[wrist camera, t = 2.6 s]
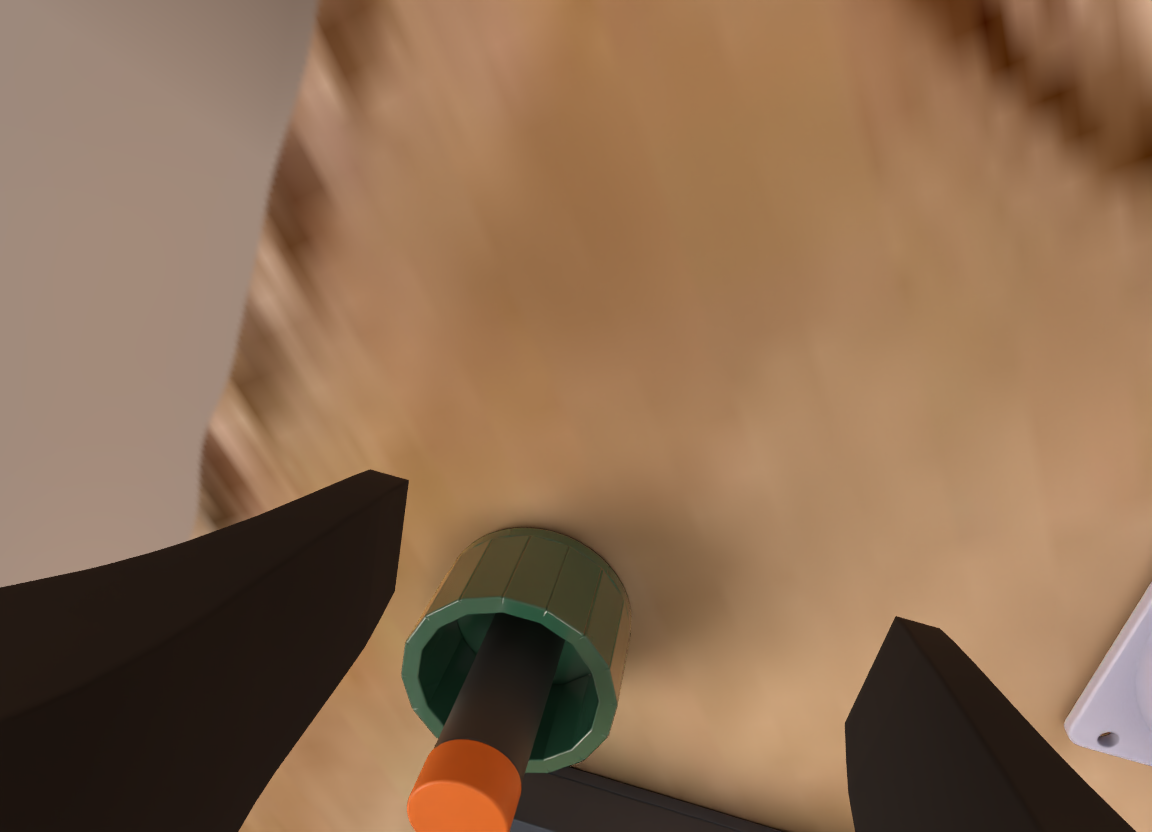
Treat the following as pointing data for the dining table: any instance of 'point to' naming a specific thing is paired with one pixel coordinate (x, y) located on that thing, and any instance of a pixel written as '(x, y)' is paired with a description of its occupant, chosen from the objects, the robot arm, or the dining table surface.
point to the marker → (488, 732)
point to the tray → (610, 808)
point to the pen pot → (537, 593)
